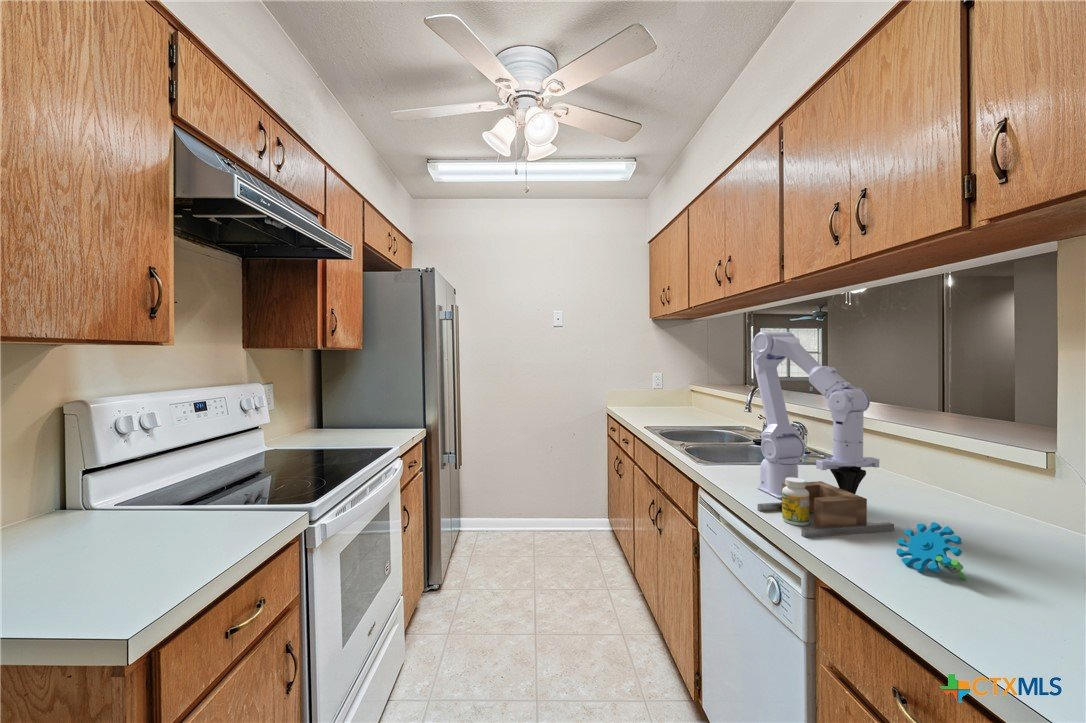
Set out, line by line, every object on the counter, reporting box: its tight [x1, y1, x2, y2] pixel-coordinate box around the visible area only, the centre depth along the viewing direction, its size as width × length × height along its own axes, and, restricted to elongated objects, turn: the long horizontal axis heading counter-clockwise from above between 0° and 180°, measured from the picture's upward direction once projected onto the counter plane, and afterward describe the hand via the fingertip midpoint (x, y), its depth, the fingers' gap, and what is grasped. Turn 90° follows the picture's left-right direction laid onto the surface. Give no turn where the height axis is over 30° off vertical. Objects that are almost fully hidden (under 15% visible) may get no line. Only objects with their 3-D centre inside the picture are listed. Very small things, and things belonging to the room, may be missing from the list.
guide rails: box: [757, 501, 895, 538], centre depth 101 cm, size 16×21×2 cm
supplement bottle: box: [781, 477, 810, 527], centre depth 100 cm, size 5×5×10 cm
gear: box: [896, 521, 968, 581], centre depth 78 cm, size 11×6×10 cm
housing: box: [782, 480, 868, 527], centre depth 101 cm, size 13×10×6 cm
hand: (847, 499), depth 101 cm, fingers closed
